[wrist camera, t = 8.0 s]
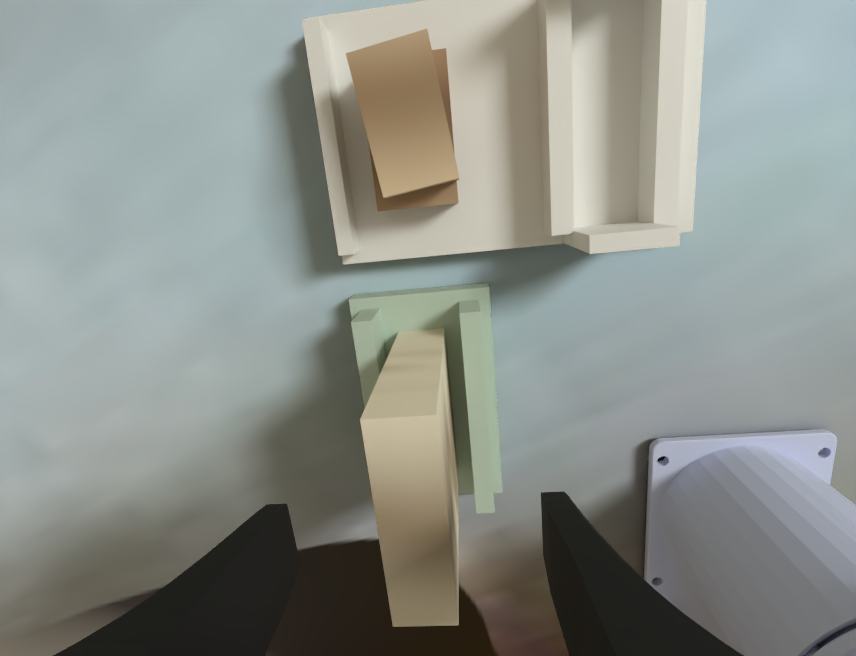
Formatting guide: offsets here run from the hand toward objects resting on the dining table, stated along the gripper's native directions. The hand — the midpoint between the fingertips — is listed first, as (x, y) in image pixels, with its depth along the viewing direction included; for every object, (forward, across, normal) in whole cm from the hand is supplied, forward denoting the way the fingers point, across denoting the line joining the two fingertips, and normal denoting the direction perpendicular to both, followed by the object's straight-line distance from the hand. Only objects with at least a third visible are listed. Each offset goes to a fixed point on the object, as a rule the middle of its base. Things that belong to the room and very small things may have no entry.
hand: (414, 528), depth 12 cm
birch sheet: (+8, 0, 0) cm, 8 cm away
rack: (+9, -4, -11) cm, 15 cm away
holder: (+9, 0, 0) cm, 9 cm away
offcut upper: (+6, 0, -11) cm, 13 cm away
